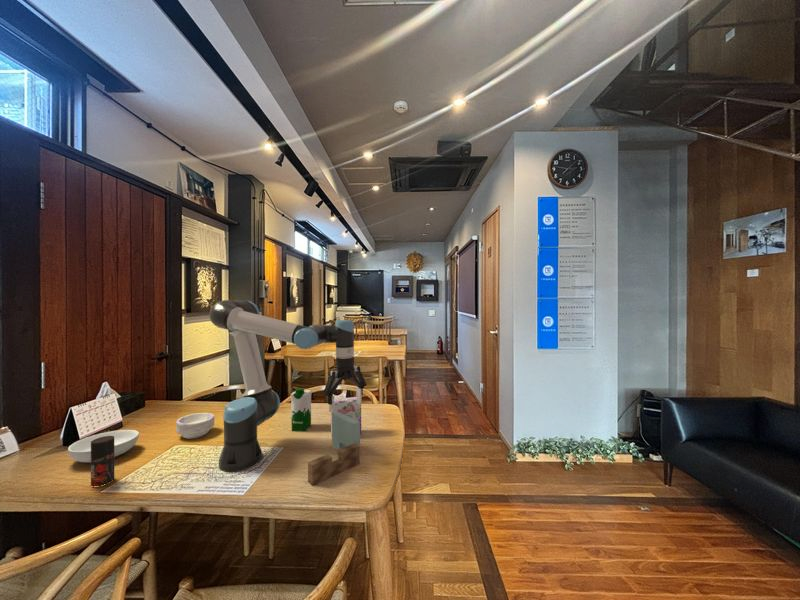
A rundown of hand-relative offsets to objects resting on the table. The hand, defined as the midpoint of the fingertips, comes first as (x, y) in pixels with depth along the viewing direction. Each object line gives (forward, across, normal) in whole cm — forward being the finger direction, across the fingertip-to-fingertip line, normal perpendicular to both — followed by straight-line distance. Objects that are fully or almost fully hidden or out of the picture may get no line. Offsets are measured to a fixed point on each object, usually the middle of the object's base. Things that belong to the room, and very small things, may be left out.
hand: (346, 407), depth 129 cm
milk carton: (+18, -2, +35) cm, 40 cm away
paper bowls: (+18, -41, +64) cm, 78 cm away
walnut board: (+18, -12, -11) cm, 24 cm away
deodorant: (+17, -73, +41) cm, 86 cm away
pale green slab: (+18, 0, 0) cm, 18 cm away
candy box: (+18, +10, +14) cm, 25 cm away
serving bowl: (+17, -72, +66) cm, 100 cm away
